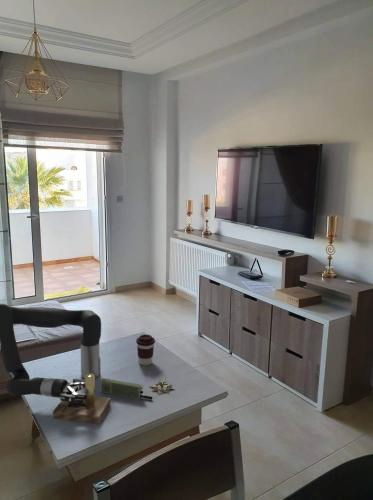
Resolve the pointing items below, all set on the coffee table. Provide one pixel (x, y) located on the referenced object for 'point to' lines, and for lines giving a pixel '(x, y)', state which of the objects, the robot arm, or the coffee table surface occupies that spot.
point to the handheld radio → (122, 389)
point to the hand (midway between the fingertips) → (90, 391)
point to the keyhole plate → (82, 411)
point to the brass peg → (90, 389)
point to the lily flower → (161, 387)
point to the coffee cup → (145, 349)
